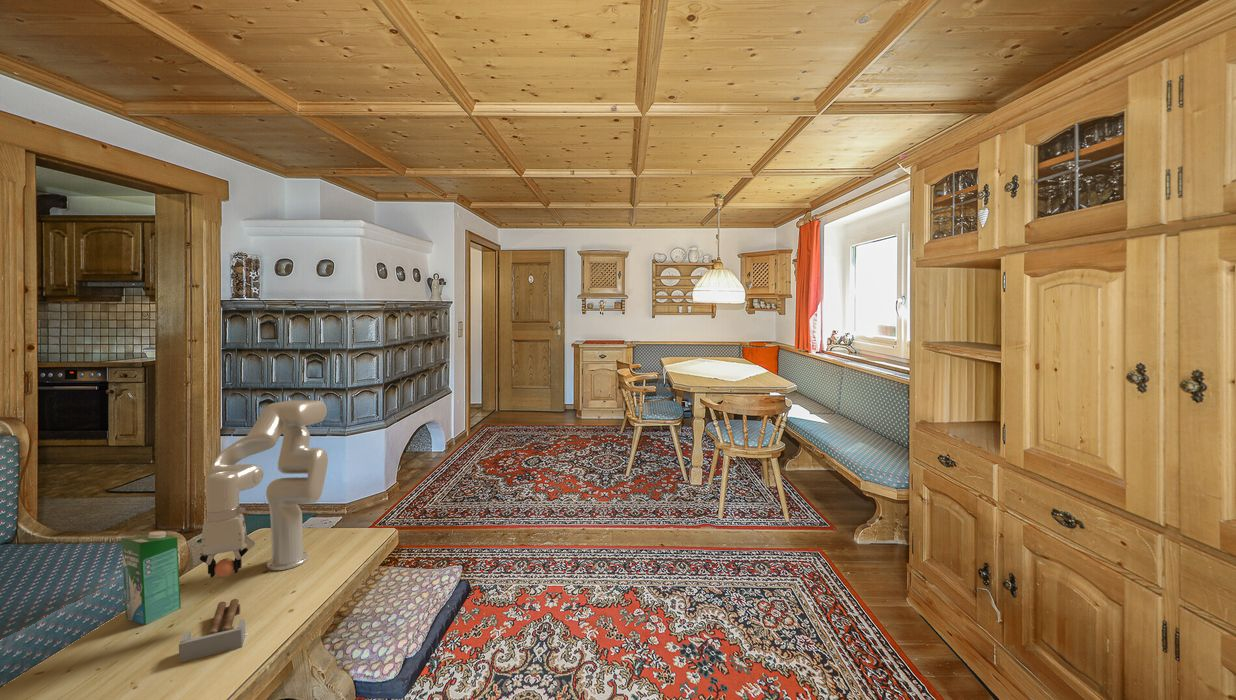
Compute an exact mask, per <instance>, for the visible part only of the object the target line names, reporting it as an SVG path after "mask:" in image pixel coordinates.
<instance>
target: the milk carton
mask: <svg viewBox="0 0 1236 700" xmlns="http://www.w3.org/2000/svg"><path fill="white" fill-rule="evenodd" d="M178 543H179V542H178V537H177V536H172V535H169V534H167V531H161V530H159V531H157V530H156V531H155V530H154V531H150V532H149V533H148V534H140V535H134V536H125V537H121V551H122V554H121V555H122V570H123V571H122V573H123V588H124V589H123V591H124V605H125V606H124V607H125V619H127V620H128V621H131V622H135V623H137V624H139V625H140V624H141V625H142V626H147V625H148V624H150V623H153V622H154V621H156V620H158V619H161V618H163V617H164V616H167V615H168V614H169V615H170V614H171V613H173V612H175V610H176V611H177V609H178V610H180V609H181V608H182V607H181V590H180V589H181V587H180V566H179V565H180V564H179V546H178V545H179V544H178Z"/></svg>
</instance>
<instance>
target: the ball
mask: <svg viewBox="0 0 1236 700" xmlns="http://www.w3.org/2000/svg"><path fill="white" fill-rule="evenodd" d="M234 560H235V559H232V558H223V559H221V560H219V561H218V562H216V565H215V568H214V572H215V576H217V577H221V578H223V577H228V576H229V575H232V573H234Z"/></svg>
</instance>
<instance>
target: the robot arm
mask: <svg viewBox="0 0 1236 700" xmlns="http://www.w3.org/2000/svg"><path fill="white" fill-rule="evenodd" d="M327 414H328V408H327V405H326V404H325V402H324V401H322V400H310V399H309V400H305V399H304V400H296V399H295V400H292V399H291V400H284V401H280V402H272V403H269V404H268V405H266V406H265V407H264V409H263V410H262V412H261V413H260V414H259V416H258V418H257V419H256V421H255V423H254V425H253V426H252V428H251V429H250V431H249V432H248V434H247V435H245V436H244V437H242V438H240V439H238V440H237V441H235V442H234V443H232V444H231V445H228V446H227V447H226V448H225V449H223V450H221V452H220V453H218V455H217V456H216V458H215V459H214V460H213V462H212V464H211V465H210V467H209V468H208V470H207V472H206V475H205V494H206V495H205V498H206V501H205V502H206V503H205V504H206V506H205V507H206V519H204V522H203V525H202V532H201V543H200V545H199V546H198V547H197V548H196V549H195V551H193V553H192V555H191V556H192V557H193V558H195V559H198V560H199V561H202V562H203V563H205V564H206V566H207V575H209V576H210V578H214V577H215V576H216V574H215V572H214V568H215V565H216V564H217V562H216V559H215V555H217V554H224V553H229V552H233V554H234V559H233V560H234V571H233V573H234V574H236V573H238V572H239V570H240V569H242V567H243V566H242V563H243V562H242V558H243V556H245V554H246V553H247V552H248V551H250V550H251V549H252V548H254V547H255V545H256V543H255V541H253V539H251V538H250V537H249V536H247V528H246V521H245V517H244V515H243V513H244V512H246V506H244V507H243V506H241V504H240V492H243V491H246V490H249V489H253V488H255V487H256V486H258V485H260V483H261V482H262V480H263V479H264V478H263V477H264V470H263V468H262V467H261V466H259V465H258V464H237V463H239V462H240V461H241V460H244V459H245V458H248V457H250V456H255V455H257V454H260V453H264V452H266V451H267V450H270V449H272V448H274V447H275V446H276V444H277V442H278V441H279V439H280V437H281V435H283V436H282V437H283V438H282V442H281V446H280V447H281V448H280V452H279V456H278V461H277V469H278V472H280V473H281V474H284V475H287V474H288V475H304V474H305V475H307V476H303V477H301V476H300V477H280V478H276V479H274V480H272V481H271V482H270V483H268V485H267V487H266V490H265V494H266V497H265V498H266V500H267V504H268V507H269V514H270V515H269V516H270V517H269V518H270V537H271V558H270V559H269V560H268V561H267V563H266V568H267V569H268V570H269V571H284V570H290V569H293V568H296V567H298V566H300V565H302V564H304V563H305V562H307V560H308V559H309V553H308V552H307V551H304V539H303V538H304V537H303V535H304V534H303V512H302V510H301V508H300V506H299V505H311V504H316V503H317V502H318V501H319V500H320V499H321V497H322V494H323V490H324V486H325V481H326V474H327V470H328V469H327V468H328V463H329V462H328V461H329V460H328V459H329V456H328V453H327V452H326V451H327V450H325V449H324V448H321V447H309V445H310V439H311V438H310V437H311V434H310V432H309V429H308V428H307V427H306V426H310V425H317V424H318V423H321V422H322V421H323V420H324V419H325V418H326V416H327ZM245 544H246V545H245Z"/></svg>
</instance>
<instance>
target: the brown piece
mask: <svg viewBox="0 0 1236 700" xmlns="http://www.w3.org/2000/svg"><path fill="white" fill-rule="evenodd" d="M239 601H240V600H239V599H238V598H233V599H231V600H230V603H229V606H227V602H226V601H220V602H219V603H218V604H217V606H216V610H215V612H214V616H213V618H212V622H211V625H210V628H209V631H208V633H207V635H211V634H215V633H219V632H223V631H228V630H232V629H235V626H233V622H234V620H235V616H236V615H240V613H241V603H239ZM223 618H224V622H223V626H222V628H221V629H219V628H220V625H221V622H222V619H223Z"/></svg>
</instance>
